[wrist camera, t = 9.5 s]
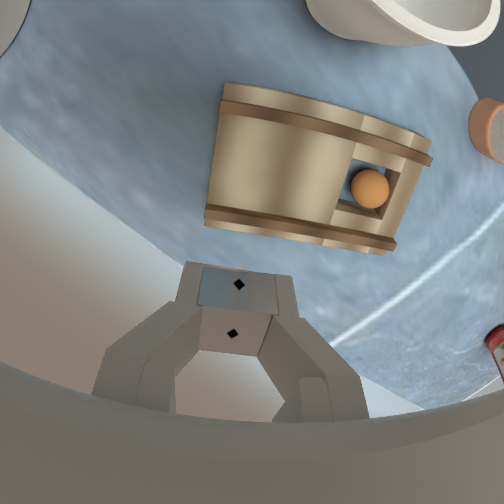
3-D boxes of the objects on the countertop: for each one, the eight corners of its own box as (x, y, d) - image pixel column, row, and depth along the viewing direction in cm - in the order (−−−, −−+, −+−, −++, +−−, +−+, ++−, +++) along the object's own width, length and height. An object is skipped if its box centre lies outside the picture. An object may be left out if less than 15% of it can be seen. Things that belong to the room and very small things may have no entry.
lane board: (208, 211, 32) (202, 232, 28) (228, 81, 24) (223, 83, 20) (375, 241, 34) (387, 262, 30) (417, 133, 26) (438, 144, 22)
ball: (341, 194, 30) (353, 211, 27) (352, 159, 28) (366, 173, 25) (373, 201, 31) (387, 218, 27) (384, 168, 29) (401, 183, 25)
